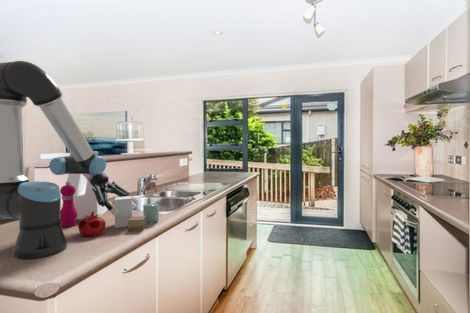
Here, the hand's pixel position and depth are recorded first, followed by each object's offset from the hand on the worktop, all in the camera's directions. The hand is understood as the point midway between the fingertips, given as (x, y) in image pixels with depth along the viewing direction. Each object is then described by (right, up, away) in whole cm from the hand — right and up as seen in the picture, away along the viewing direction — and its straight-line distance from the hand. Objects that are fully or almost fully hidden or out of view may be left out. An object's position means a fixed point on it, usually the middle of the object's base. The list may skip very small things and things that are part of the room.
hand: (126, 210), depth 128 cm
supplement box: (-1, -7, 0) cm, 7 cm away
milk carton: (-29, -6, +21) cm, 36 cm away
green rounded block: (+10, -6, +5) cm, 13 cm away
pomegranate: (-9, -7, -13) cm, 18 cm away
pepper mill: (-26, -7, 0) cm, 27 cm away
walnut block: (+7, -7, -6) cm, 12 cm away
